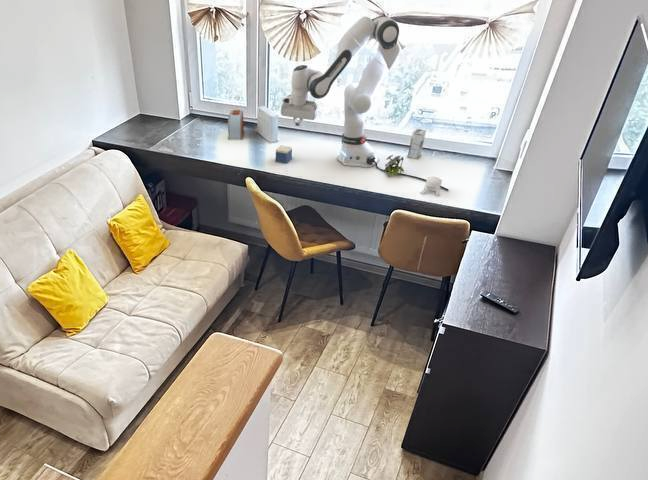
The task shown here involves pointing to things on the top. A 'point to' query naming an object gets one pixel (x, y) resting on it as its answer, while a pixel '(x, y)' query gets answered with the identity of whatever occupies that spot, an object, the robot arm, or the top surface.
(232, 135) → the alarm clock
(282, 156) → the dark blue cube
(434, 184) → the white lumpy piece
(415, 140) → the syrup box
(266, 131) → the skincare box
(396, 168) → the passion flower
